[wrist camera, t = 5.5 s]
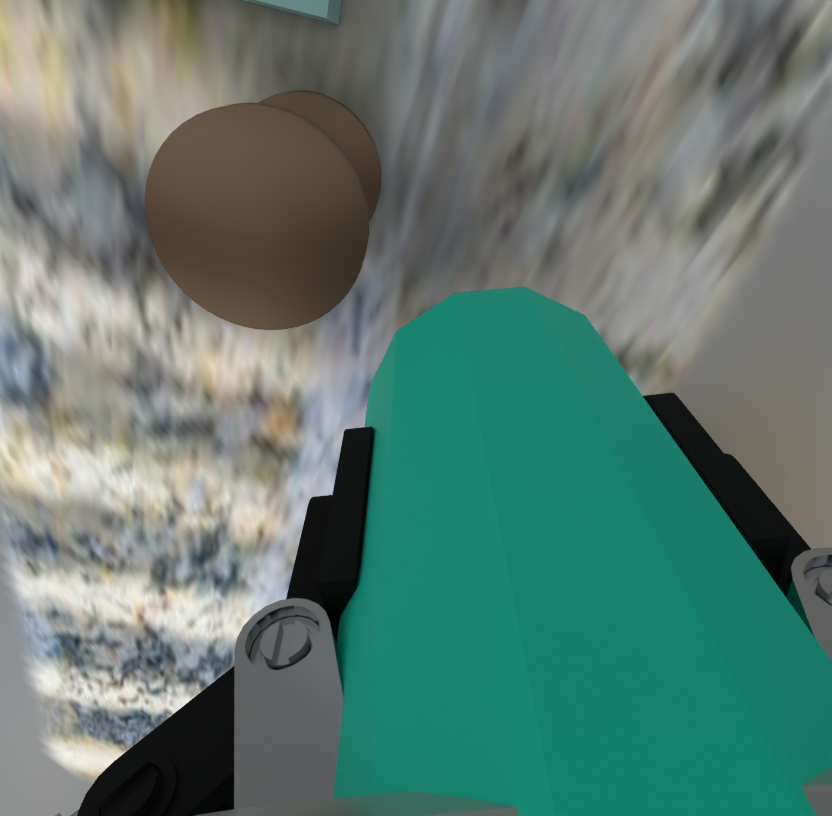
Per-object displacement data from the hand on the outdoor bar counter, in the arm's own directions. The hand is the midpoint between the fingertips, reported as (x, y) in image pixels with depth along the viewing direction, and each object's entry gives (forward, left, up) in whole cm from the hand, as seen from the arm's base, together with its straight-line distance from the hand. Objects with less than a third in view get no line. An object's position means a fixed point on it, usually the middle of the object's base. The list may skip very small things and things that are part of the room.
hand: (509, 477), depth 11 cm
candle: (0, 0, -3) cm, 3 cm away
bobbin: (-4, -6, -16) cm, 17 cm away
